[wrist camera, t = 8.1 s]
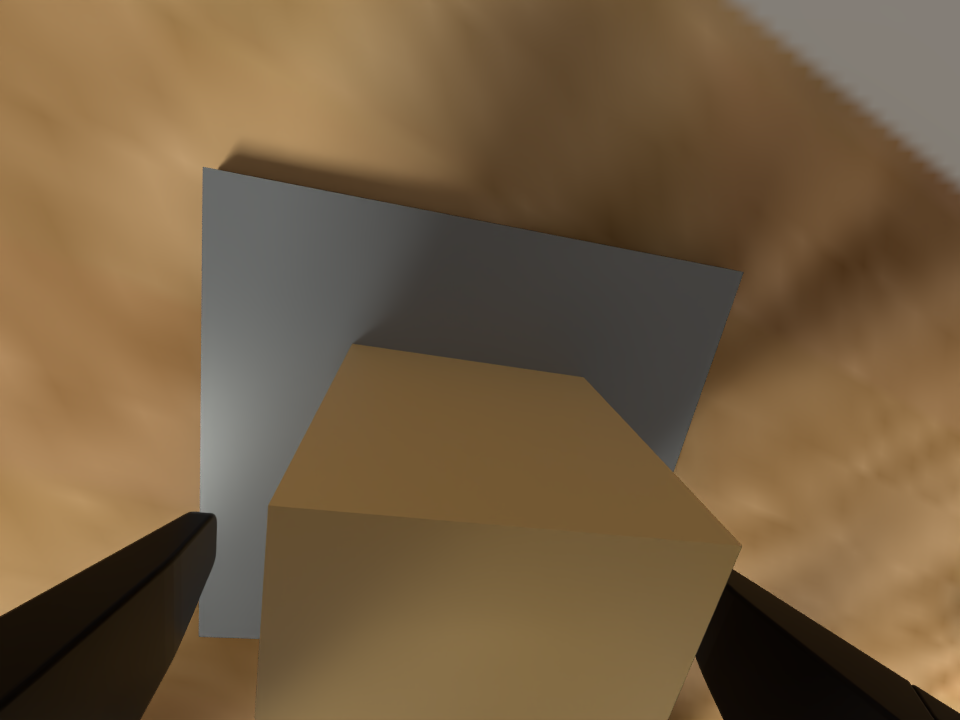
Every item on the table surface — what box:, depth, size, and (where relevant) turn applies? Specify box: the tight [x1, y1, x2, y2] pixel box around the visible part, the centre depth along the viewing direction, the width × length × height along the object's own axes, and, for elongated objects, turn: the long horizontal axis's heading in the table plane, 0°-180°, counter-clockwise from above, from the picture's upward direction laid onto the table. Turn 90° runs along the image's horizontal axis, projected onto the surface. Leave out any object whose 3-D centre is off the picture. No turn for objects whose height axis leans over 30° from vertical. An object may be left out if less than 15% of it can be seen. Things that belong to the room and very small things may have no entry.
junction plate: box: [199, 167, 744, 639], centre depth 11 cm, size 12×12×4 cm
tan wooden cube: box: [255, 344, 742, 720], centre depth 9 cm, size 6×6×6 cm
